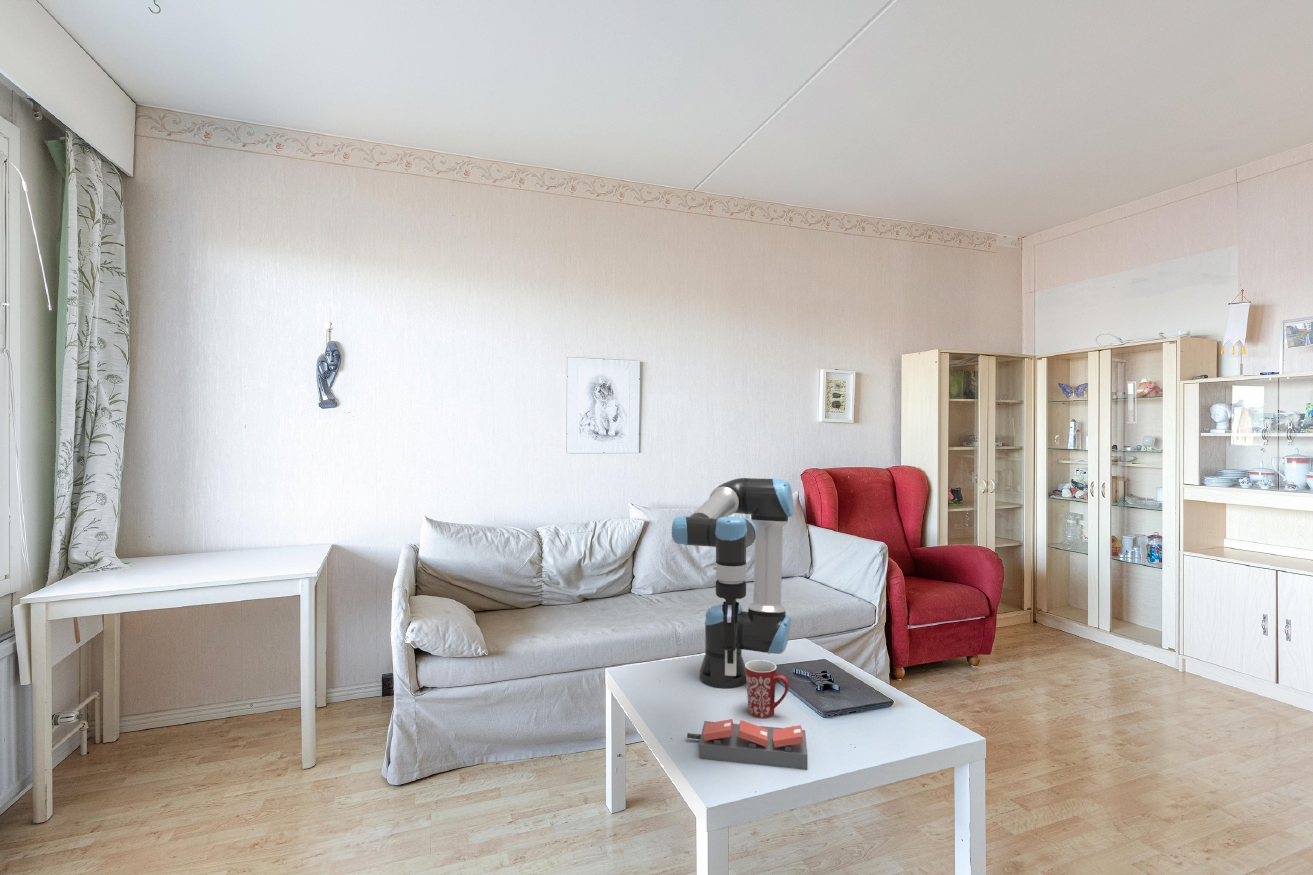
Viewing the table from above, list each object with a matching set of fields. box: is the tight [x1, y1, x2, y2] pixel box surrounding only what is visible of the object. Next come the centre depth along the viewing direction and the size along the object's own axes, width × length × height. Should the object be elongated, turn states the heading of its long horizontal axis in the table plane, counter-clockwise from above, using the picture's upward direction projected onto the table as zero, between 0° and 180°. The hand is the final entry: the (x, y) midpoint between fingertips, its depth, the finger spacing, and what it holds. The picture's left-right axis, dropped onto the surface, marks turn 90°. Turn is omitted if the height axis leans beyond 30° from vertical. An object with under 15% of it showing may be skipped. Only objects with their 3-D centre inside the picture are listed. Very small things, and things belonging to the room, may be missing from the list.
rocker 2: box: [773, 724, 803, 747], centre depth 153 cm, size 6×7×2 cm
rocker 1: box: [703, 718, 735, 741], centre depth 156 cm, size 6×7×2 cm
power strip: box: [686, 720, 808, 770], centre depth 157 cm, size 12×30×5 cm, turn 79°
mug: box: [744, 659, 790, 719], centre depth 176 cm, size 13×9×14 cm
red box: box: [738, 719, 768, 747], centre depth 154 cm, size 6×7×2 cm
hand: (730, 674), depth 155 cm, fingers closed
